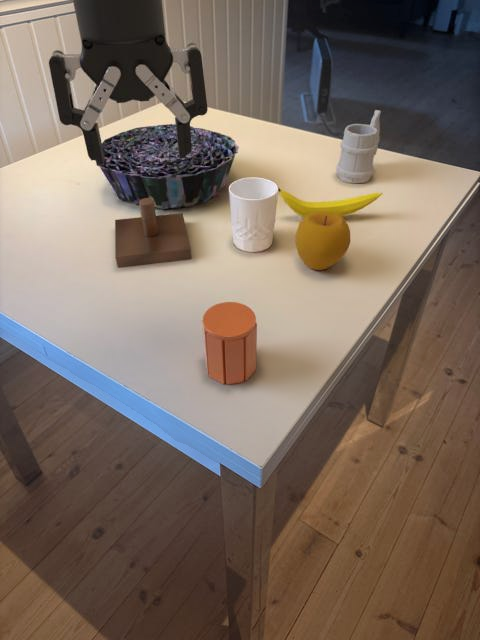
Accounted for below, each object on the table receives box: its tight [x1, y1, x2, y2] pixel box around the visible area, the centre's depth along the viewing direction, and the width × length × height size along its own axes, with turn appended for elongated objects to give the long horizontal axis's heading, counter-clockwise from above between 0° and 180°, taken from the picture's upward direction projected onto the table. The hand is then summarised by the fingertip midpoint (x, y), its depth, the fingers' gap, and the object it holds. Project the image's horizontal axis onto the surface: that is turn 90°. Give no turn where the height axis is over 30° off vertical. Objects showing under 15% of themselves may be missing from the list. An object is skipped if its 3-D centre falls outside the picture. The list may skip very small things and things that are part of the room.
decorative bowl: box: [94, 123, 240, 210], centre depth 97 cm, size 26×28×10 cm
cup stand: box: [114, 198, 192, 268], centre depth 81 cm, size 12×12×8 cm
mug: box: [335, 109, 382, 184], centre depth 100 cm, size 8×12×12 cm, turn 139°
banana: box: [278, 186, 383, 218], centre depth 88 cm, size 3×19×6 cm, turn 92°
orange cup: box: [201, 301, 258, 386], centre depth 59 cm, size 6×6×8 cm
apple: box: [295, 211, 351, 271], centre depth 76 cm, size 8×8×9 cm
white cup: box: [228, 176, 279, 253], centre depth 81 cm, size 8×8×10 cm
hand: (142, 159), depth 52 cm, fingers open, 8 cm apart
